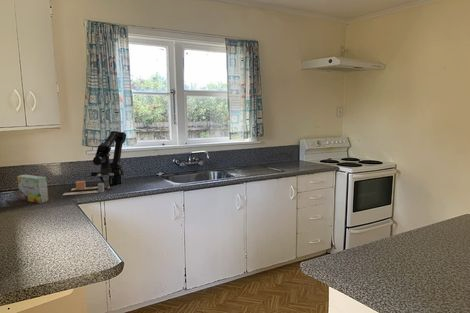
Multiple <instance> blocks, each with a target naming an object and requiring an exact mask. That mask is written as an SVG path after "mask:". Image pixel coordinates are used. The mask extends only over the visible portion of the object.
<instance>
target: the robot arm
mask: <svg viewBox="0 0 470 313" xmlns="http://www.w3.org/2000/svg"><path fill="white" fill-rule="evenodd" d="M126 139H127V134H126V133H125V131H117V130H112V131H110V133H109V135H108V136H107V138H106V139H105V141H104V142H101V143H100V144H99V145H98V147H97V149H96V152H95V157H93V159H92V163H93V165H95V166H100V170H99V171H98V170H93V171H91V173H90V177H97V178H99V179H100V180H101V183H104V179H105V177H104V176H108V179H109V186H110V185H111V184H112V185H122V184H123V179H122V177H123V176H124V174H125V173H124V170H123V168H122V164H121V159H122V158H121V157H122V149H123V144H124V143H125V142H126ZM114 142H115V144H114ZM112 144H114V145H115V146H114V151H113V158H112V161H111V162H110V156H111V154H110V153H111V150H112Z"/></svg>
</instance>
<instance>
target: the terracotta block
mask: <svg viewBox="0 0 470 313" xmlns="http://www.w3.org/2000/svg"><path fill="white" fill-rule="evenodd" d="M86 186H87V185H86V180H77V181H75V188H76V190H75V191H82V190H81V189H84V190H86V189H85V188H86Z"/></svg>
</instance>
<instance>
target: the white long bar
mask: <svg viewBox="0 0 470 313" xmlns="http://www.w3.org/2000/svg"><path fill="white" fill-rule="evenodd" d="M97 187H98V188H97V190H87V191H86V190H85V191H73V192H64V193H63V194H62V196H68V195H72V196H73V195H83V194H84V195H85V194H97V193H103V192H104V191H105V188H104V183H102V182H99V183H97Z"/></svg>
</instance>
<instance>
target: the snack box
mask: <svg viewBox="0 0 470 313" xmlns="http://www.w3.org/2000/svg"><path fill="white" fill-rule="evenodd" d="M16 177H17V185H18V186H17V187H18V193H19V199H20V200H21V201H26V202H32V203H37V204H45V203H47V202H48V203H49V201H50V200H49V193H48V192H49V191H48V183H47V182H48V181H47V177H46V176H39V175H32V174H21V175H17V176H16Z"/></svg>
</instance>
